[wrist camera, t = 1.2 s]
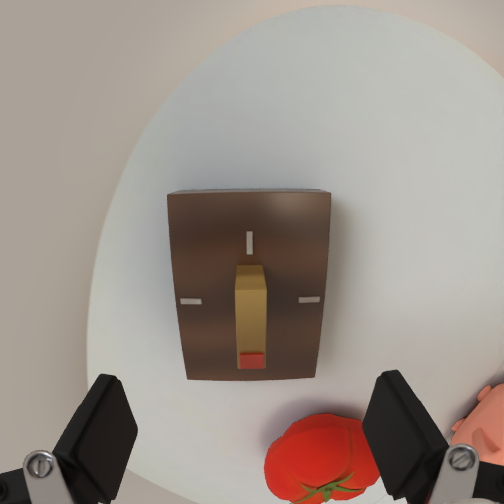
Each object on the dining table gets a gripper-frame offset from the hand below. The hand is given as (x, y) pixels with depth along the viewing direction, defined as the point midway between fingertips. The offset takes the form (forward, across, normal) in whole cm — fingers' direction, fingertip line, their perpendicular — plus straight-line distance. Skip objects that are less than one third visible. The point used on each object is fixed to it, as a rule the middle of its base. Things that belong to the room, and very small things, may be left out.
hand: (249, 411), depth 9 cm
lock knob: (+10, 0, 0) cm, 10 cm away
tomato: (+14, -7, +19) cm, 25 cm away
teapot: (+14, -37, +23) cm, 46 cm away
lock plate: (+13, 0, 0) cm, 13 cm away
